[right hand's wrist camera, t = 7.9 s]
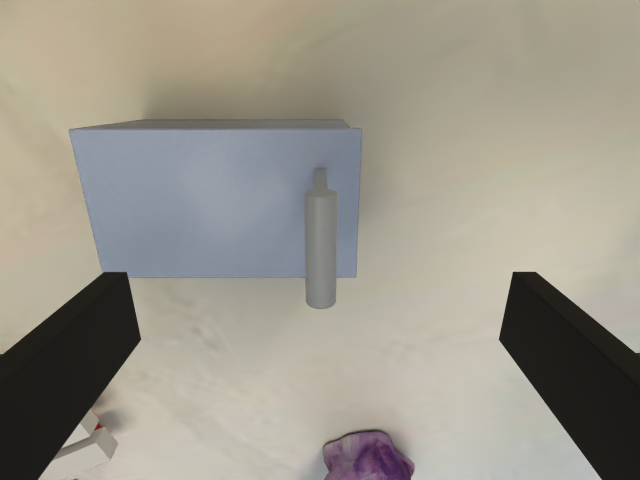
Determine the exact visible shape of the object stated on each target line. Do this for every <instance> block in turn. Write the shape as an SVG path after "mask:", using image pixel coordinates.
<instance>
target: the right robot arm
mask: <svg viewBox="0 0 640 480" xmlns="http://www.w3.org/2000/svg"><path fill="white" fill-rule="evenodd" d="M140 340H141V337H140V332H139V327H138V322H137V318H136V313H135V308H134V303H133V299H132V294H131V289H130V284H129V280H128V275H127V272H104V273H102V274H101V275H100V276H99V277H97V278H96V279H95V280H94V281H93V282H91V283H90V284H89V285H88V286H86V287H85V288H84V289H83V290H81V291H80V292H79V293H78V294H77V295H75V296H74V297H73V298H72V299H70V300H69V301H68V302H67V303H65V304H64V305H63V306H62V307H61V308H59V309H58V310H57V311H56V312H54V313H53V314H52V315H51V316H49V317H48V318H47V319H46V320H45V321H43V322H42V323H41V324H40V325H38V326H37V327H36V328H35V329H34V330H32V331H31V332H30V333H29V334H27V335H26V336H25V337H24V338H22V339H21V340H20V341H19V342H18V343H16V344H15V345H14V346H13V347H11V348H10V349H9V350H8V351H6V352H5V353H4V354H0V480H38V479H39V478H40V476H41V475H42V474H43V472H44V471H45V469H46V468H47V467H48V465H49V464H50V463H51V461H52V460H53V459H54V457H55V456H56V455H57V453H58V452H59V450H60V449H61V448H62V446H63V445H64V444H65V442H66V441H67V440H68V438H69V437H70V436H71V434H72V433H73V431H74V430H75V429H76V427H77V426H78V425H79V423H80V422H81V421H82V419H83V418H84V417H85V415H86V414H87V412H88V411H89V410H90V408H91V407H92V406H93V404H94V403H95V402H96V400H97V399H98V397H99V396H100V395H101V393H102V392H103V391H104V389H105V388H106V387H107V385H108V384H109V383H110V381H111V380H112V378H113V377H114V376H115V374H116V373H117V372H118V370H119V369H120V368H121V366H122V365H123V364H124V362H125V361H126V359H127V358H128V357H129V355H130V354H131V353H132V351H133V350H134V349H135V347H136V346H137V345H138V343H139V342H140ZM499 340H500V342H501V343H502V345H503V346H504V347H505V349H506V350H507V351H508V353H509V354H510V355H511V357H512V358H513V359H514V361H515V362H516V364H517V365H518V366H519V368H520V369H521V370H522V372H523V373H524V374H525V376H526V377H527V378H528V380H529V381H530V383H531V384H532V385H533V387H534V388H535V389H536V391H537V392H538V393H539V395H540V396H541V397H542V399H543V400H544V402H545V403H546V404H547V406H548V407H549V408H550V410H551V411H552V412H553V414H554V415H555V417H556V418H557V419H558V421H559V422H560V423H561V425H562V426H563V427H564V429H565V430H566V431H567V433H568V434H569V436H570V437H571V438H572V440H573V441H574V442H575V444H576V445H577V446H578V448H579V449H580V450H581V452H582V453H583V455H584V456H585V457H586V459H587V460H588V461H589V463H590V464H591V465H592V467H593V468H594V469H595V471H596V472H597V474H598V475H599V476H600V478H601V479H602V480H640V353H635V352H634V351H632V350H631V349H630V348H629V347H627V346H626V345H625V344H624V343H622V342H621V341H620V340H619V339H618V338H616V337H615V336H614V335H613V334H611V333H610V332H609V331H608V330H606V329H605V328H604V327H603V326H602V325H600V324H599V323H598V322H597V321H595V320H594V319H593V318H592V317H591V316H589V315H588V314H587V313H586V312H584V311H583V310H582V309H581V308H579V307H578V306H577V305H576V304H575V303H573V302H572V301H571V300H570V299H568V298H567V297H566V296H565V295H563V294H562V293H561V292H560V291H559V290H557V289H556V288H555V287H554V286H552V285H551V284H550V283H549V282H547V281H546V280H545V279H544V278H543V277H541V276H540V275H539V274H538V273H536V272H513V275H512V280H511V284H510V289H509V294H508V299H507V303H506V308H505V313H504V318H503V322H502V327H501V332H500V337H499Z"/></svg>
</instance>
